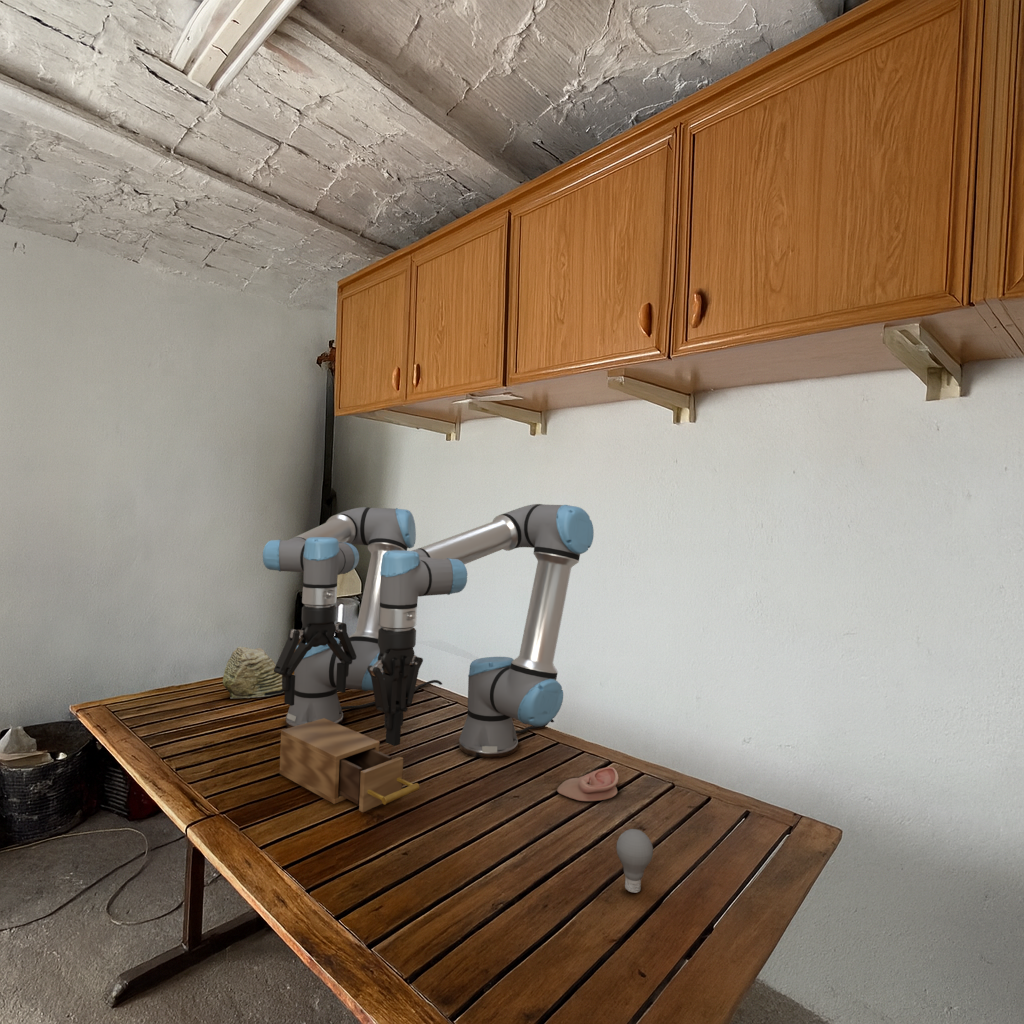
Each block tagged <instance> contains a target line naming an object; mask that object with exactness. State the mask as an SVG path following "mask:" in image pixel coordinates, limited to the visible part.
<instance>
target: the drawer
mask: <svg viewBox="0 0 1024 1024" xmlns="http://www.w3.org/2000/svg"><path fill="white" fill-rule="evenodd" d="M403 771H404V758H403V757H402V756H397V757H394V758H393V757H392V756H391V755H388V754H385V753H384V752H381V751H380V750H379V751H377V750H374V749H369V750H366V751H363V752H361V753H358V754H355V755H352V756H349V757H346V758H343V759H341V760H340V762H339V787H338V794H339V795H341V796H343V797H345V798H347V799H346V800H349V801H350V802H352V803H354V804H355V805H358V811H359V812H361V813H365V812H367V811H369V810H373V809H374V808H376V807H378V806H381V805H388V804H390V803H393V802H394V801H397V800H399V799H402V798H403V797H406V796H408V795H409V794H412V793H414V792H417V791H418V790H420V785H419V783H418V782H415V783H412V782H410V781H408V780H406V779H404V778H403V776H404V775H403V774H404V773H403ZM403 785H405V786H406V787H403Z"/></svg>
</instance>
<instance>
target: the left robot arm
mask: <svg viewBox="0 0 1024 1024" xmlns="http://www.w3.org/2000/svg"><path fill="white" fill-rule="evenodd" d="M416 529H417V527H416V522H415V519H414V515H413V513H412V512H411V510H408V509H404V508H398V507H396V508H387V507H368V506H361V507H354V508H351V509H348V510H344V511H341V512H338V513H336V514H334V515H332V516H330V517H329V518H328V519H327V520H326V521H325V522H324V523H322V524H321V525H318V526H316V527H314V528H311V529H309V530H307V531H305V532H302V533H300V534H298V535H296V536H293V537H292V538H289V539H286V540H285V539H284V540H283V539H271V540H269V541H267V542H266V544H265V545H264V546H263V551H262V563H263V565H264V567H265V568H266V569H267V570H270V571H278V572H291V573H292V572H294V573H303V578H302V579H303V581H302V595H301V597H302V598H301V603H302V604H303V606H302V607H301V623H302V627H301V629H294V628H290V629H289V630H288V635H287V640H286V641H285V644H284V647H283V649H282V650H281V654H280V655H279V657H278V660H277V662H276V663H275V665H276V666H275V668H274V672H275V673H278V674H280V675H282V689H283V690H285V691H284V697H283V698H284V699H283V701H284V702H283V703H284V704H286V705H288V706H289V708H288V711H287V713H286V715H285V726H286V728H291V727H295V726H298V725H302V724H305V723H309V722H312V721H316V720H319V719H323V718H325V719H327V720H330V721H332V722H334V723H337V724H339V725H342V723H343V722H344V713H343V711H344V710H357V709H364V708H367V707H372V706H376V704H375V700H374V701H371V702H367V703H364V704H358V705H357V704H356V705H343V706H341V702H340V699H339V695H338V692H340V693H342V694H344V693H346V692H347V689H348V690H359V691H364V692H368V691H373V685H372V679H371V676H370V674H369V672H368V670H367V668H368V666H369V665H371V666H373V665H374V664H375V663H376V662H377V661H378V655H379V653H380V648H379V646H378V630H379V629H380V628H381V626H379V606H380V578H381V575H380V571H381V562H382V556H383V554H384V553H385V552H387V551H393V550H399V551H402V550H403V551H408V549H412V548H414V547H415V544H416V539H417V530H416ZM354 545H357V546H358V545H359V546H367V550H368V551H369V553H370V558H369V564H368V569H367V574H366V579H365V584H364V587H363V593H362V598H361V603H360V609H359V613H358V617H357V623H356V627H355V632H354V633H353V634H351V635H350V636H349V634H348V629H347V628H348V627H347V623H345V622H341V621H337V606H336V604H337V600H338V599H337V597H338V576H339V575H345V574H348V573H349V572H351V571H353V570H354V569H356V568H357V566H358V564H359V561H360V553H359V551H358V549H357V547H356V546H354ZM335 622H336V623H335ZM335 633H336V635H337V637H334V634H335ZM382 670H383V669H382ZM382 674H383V673H382ZM430 684H438V685H441V686H442V685H443V682H442V681H440V680H438V679H432V680H428V681H426V682H424V683H421V684H419V685H417V686H415V691H414V693H415V692H416V691H418V690H419V689H420V688H423V687H425V686H428V685H430Z"/></svg>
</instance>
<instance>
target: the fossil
mask: <svg viewBox="0 0 1024 1024" xmlns="http://www.w3.org/2000/svg"><path fill="white" fill-rule="evenodd" d="M275 666H276V663H275V662H274V660H273V659H272V658H271V657H270V656H269V655H268V654H267V653H266V652H265V650H264V649H263V648H260V647H258V648H251V647H247V646H246V647H245V646H238V647H237V648H236V649H235V650H233V651H232V653H231V656H230V657H229V659H228V660H227V663H226V666H225V668H224V671H223V675H222V676H223V677H222V685H223V687H224V688H225V690H226V691H228V693H229V698H230V699H250V698H264V697H271V696H275V695H281V694H284V693H285V690H283V689H282V675H280V674H278V673H275V672H274V668H275Z"/></svg>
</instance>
